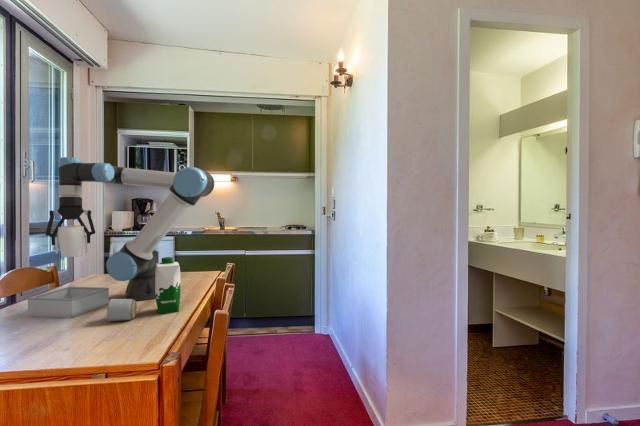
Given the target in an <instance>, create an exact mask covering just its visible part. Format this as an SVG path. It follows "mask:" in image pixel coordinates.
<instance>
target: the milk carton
mask: <svg viewBox="0 0 640 426" xmlns="http://www.w3.org/2000/svg"><path fill="white" fill-rule="evenodd" d="M155 275H156V276H155V296H156V298H155V303H156V307H157V313H158V314H159V315H161V314H169V313H176V312H177V313H179V312H180V311H179V310H180V303H181V267H180V263H179V262H178V261H174V258H173V257H172V256H168V257H166V256H165V257H161V262H159V263H157V264H156V270H155Z"/></svg>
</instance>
